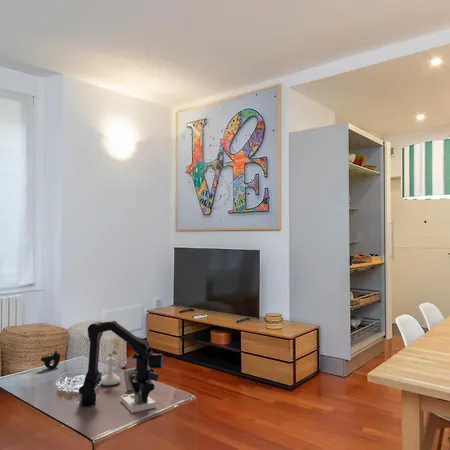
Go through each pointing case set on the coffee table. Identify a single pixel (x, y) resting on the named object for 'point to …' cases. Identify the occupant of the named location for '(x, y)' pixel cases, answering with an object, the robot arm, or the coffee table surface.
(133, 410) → the socket
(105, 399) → the coffee table surface
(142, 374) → the robot arm
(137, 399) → the plug
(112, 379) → the flower in vase
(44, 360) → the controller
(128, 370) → the digital clock
